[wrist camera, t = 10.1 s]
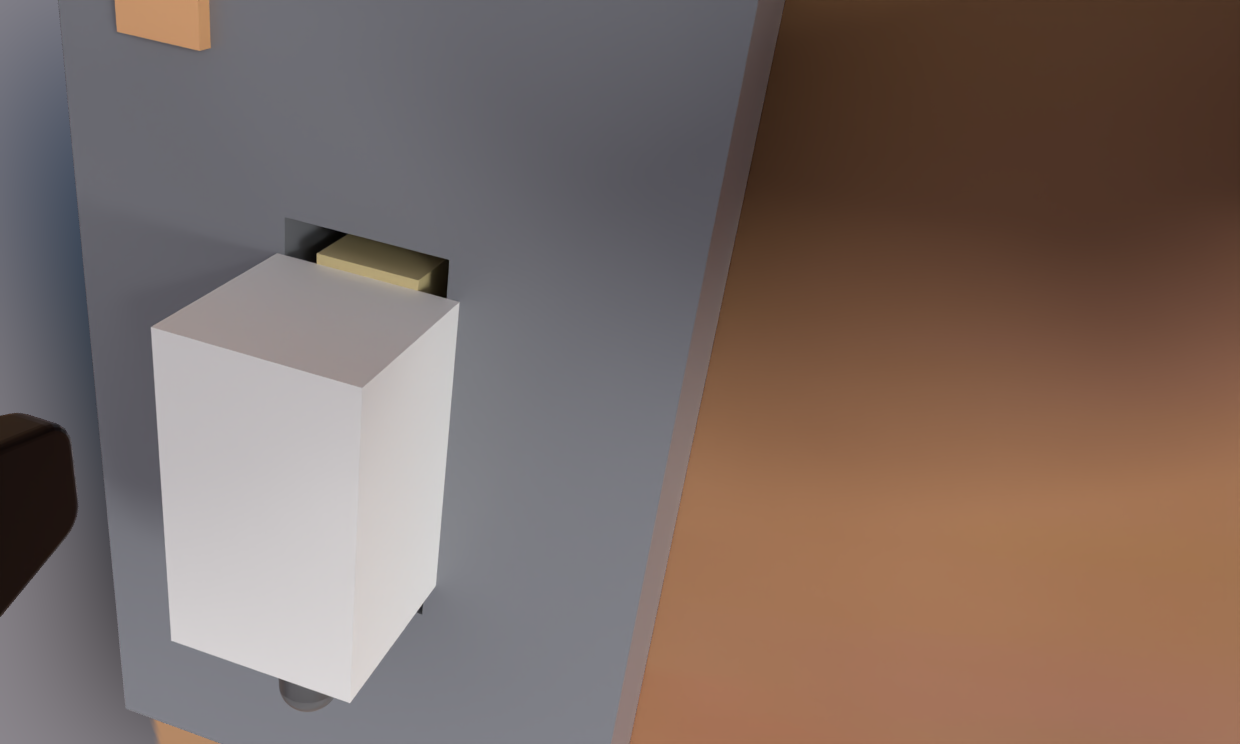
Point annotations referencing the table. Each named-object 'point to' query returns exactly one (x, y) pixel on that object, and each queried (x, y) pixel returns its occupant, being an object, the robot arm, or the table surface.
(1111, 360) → the table surface
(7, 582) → the robot arm
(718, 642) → the table surface
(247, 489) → the plug
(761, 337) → the table surface
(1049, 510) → the table surface
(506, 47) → the socket
